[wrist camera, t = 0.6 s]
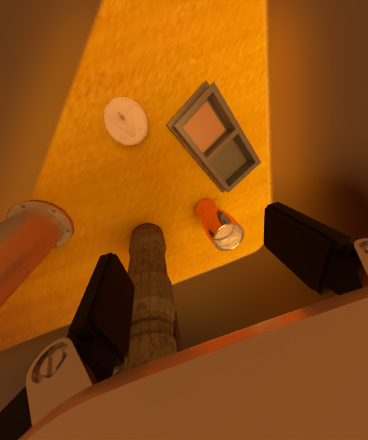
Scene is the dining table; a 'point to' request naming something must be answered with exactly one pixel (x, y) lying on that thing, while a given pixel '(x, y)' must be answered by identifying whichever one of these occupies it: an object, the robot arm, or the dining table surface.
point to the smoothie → (125, 121)
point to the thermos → (150, 301)
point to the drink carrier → (214, 138)
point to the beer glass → (219, 225)
